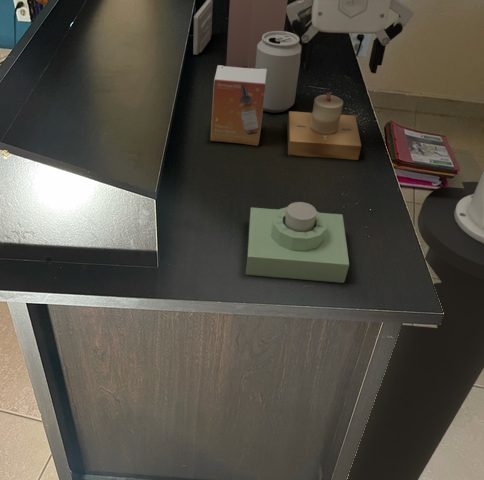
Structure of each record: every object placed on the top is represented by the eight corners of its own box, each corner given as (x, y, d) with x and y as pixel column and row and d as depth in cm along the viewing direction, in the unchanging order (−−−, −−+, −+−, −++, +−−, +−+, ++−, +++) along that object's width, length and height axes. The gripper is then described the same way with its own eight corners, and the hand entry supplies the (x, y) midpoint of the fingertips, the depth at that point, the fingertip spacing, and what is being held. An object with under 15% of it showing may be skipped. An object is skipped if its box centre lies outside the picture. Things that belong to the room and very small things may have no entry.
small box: (209, 142, 94) (212, 79, 86) (213, 125, 98) (216, 63, 90) (259, 146, 93) (266, 83, 86) (261, 129, 97) (267, 67, 90)
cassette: (199, 56, 119) (200, 17, 113) (190, 55, 119) (191, 16, 114) (213, 35, 127) (215, -2, 122) (205, 34, 127) (206, -3, 122)
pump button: (313, 216, 72) (316, 202, 70) (314, 234, 69) (317, 220, 68) (284, 214, 72) (286, 200, 71) (284, 231, 70) (286, 218, 68)
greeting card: (278, 61, 117) (287, -19, 107) (292, 76, 112) (303, -7, 102) (224, 66, 115) (229, -15, 105) (236, 82, 110) (242, -2, 100)
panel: (352, 129, 98) (355, 114, 96) (358, 160, 90) (361, 145, 89) (287, 124, 98) (289, 110, 97) (287, 155, 91) (290, 140, 89)
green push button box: (338, 232, 77) (345, 201, 74) (344, 283, 70) (353, 251, 66) (248, 225, 78) (252, 194, 74) (245, 274, 71) (249, 243, 67)
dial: (338, 135, 91) (344, 106, 88) (310, 133, 91) (315, 104, 88) (336, 121, 94) (342, 93, 91) (309, 120, 94) (314, 91, 91)
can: (247, 96, 106) (253, 29, 97) (286, 94, 107) (295, 27, 98) (257, 116, 100) (265, 46, 92) (299, 113, 101) (309, 44, 93)
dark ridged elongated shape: (305, -1, 131) (283, 18, 121) (318, 1, 130) (296, 20, 120) (301, 22, 134) (280, 42, 124) (314, 24, 134) (293, 45, 123)
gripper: (294, -59, 72) (280, 76, 83) (436, -56, 70) (402, 81, 82) (292, -72, 77) (280, 56, 89) (425, -70, 76) (395, 61, 87)
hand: (339, 68), depth 85 cm, fingers open, 9 cm apart
